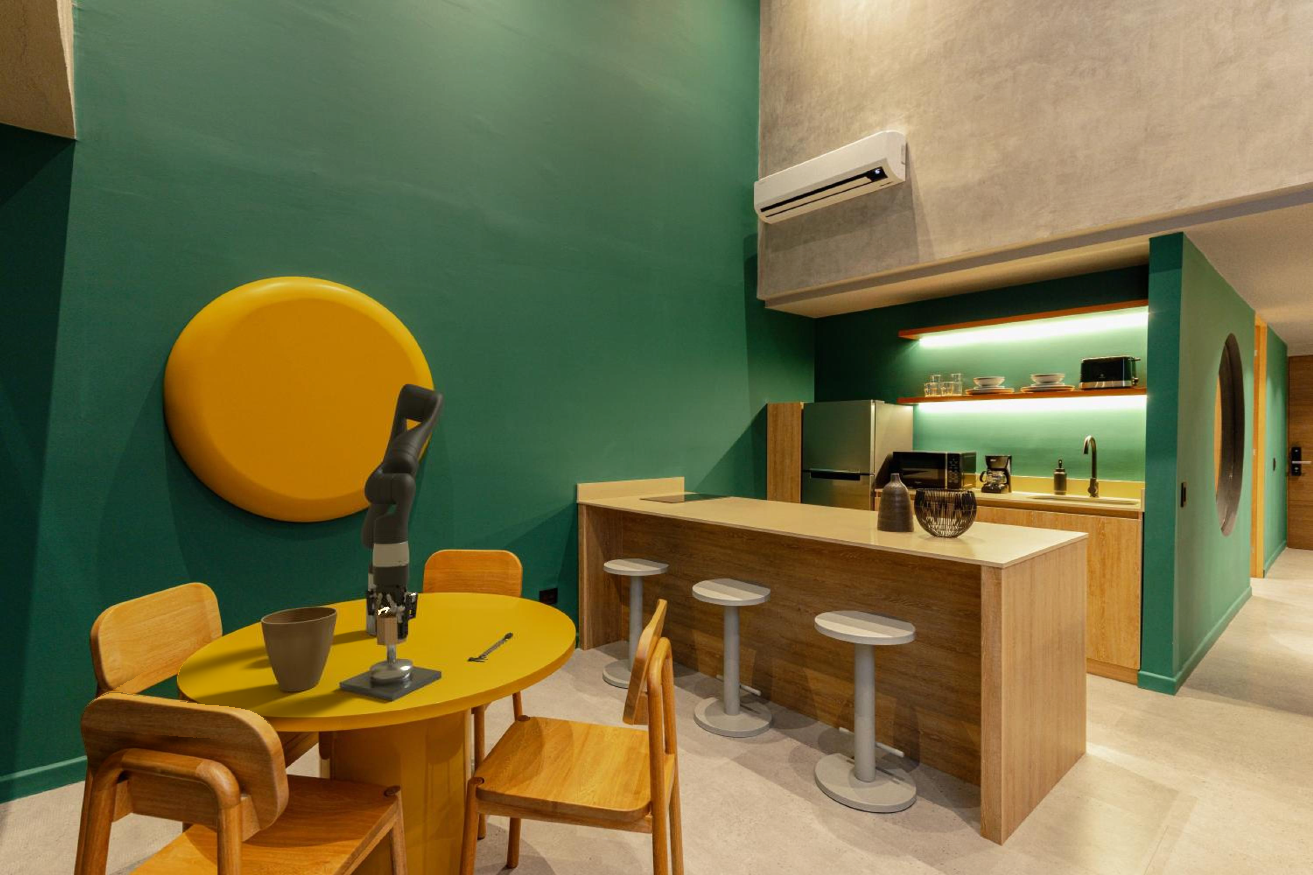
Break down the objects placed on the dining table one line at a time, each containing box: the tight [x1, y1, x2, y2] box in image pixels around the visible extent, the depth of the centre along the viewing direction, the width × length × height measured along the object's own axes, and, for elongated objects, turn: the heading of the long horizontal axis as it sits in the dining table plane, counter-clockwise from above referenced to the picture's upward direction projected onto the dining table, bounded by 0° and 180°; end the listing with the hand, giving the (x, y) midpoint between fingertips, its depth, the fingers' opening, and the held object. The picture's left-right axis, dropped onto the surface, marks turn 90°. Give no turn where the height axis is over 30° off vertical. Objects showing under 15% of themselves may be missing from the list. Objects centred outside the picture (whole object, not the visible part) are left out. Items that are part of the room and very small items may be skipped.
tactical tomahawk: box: [467, 632, 514, 663], centre depth 163 cm, size 21×7×1 cm, turn 166°
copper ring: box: [376, 611, 408, 647], centre depth 140 cm, size 6×6×6 cm
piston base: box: [338, 645, 443, 702], centre depth 140 cm, size 16×14×14 cm
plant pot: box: [260, 606, 338, 693], centre depth 139 cm, size 15×15×16 cm
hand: (391, 636), depth 140 cm, fingers closed on copper ring, 6 cm apart
